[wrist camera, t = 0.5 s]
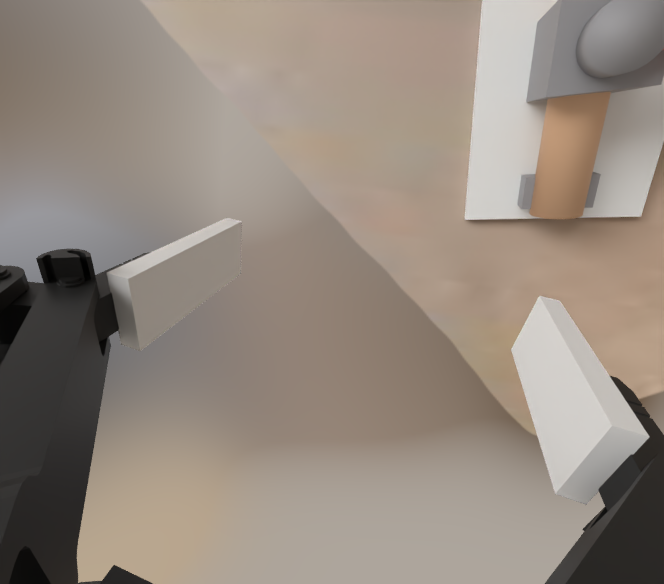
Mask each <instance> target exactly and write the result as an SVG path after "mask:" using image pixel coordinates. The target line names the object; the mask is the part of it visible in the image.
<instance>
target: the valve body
mask: <svg viewBox="0 0 664 584" xmlns="http://www.w3.org/2000/svg"><path fill="white" fill-rule="evenodd" d="M611 1H612V0H482V6H481V19H480V31H479V43H478V56H477V68H476V81H475V93H474V106H473V118H472V131H471V143H470V155H469V168H468V180H467V193H466V205H465V220H478V219H534V218H546V219H573V218H589V217H641V214H642V211H643V208H644V205H645V201H646V198H647V195H648V192H649V188H650V185H651V182H652V179H653V175H654V172H655V169H656V165H657V162H658V159H659V156H660V152H661V149H662V146H663V143H664V50H662V51H661V52H660V53H659V54H658V55H657V56H656V57H655V58H654V59H652V60H651V61H650V62H649V63H647V64H645V65H644V66H642V67H640V68H638V69H636V70H634V71H631V72H627V73H624V74H620V75H616V76H612V77H608V78H596V77H592V76H589V75H588V74H586V73H585V72H584V71H582V69H581V68H580V67H579V65H578V62H577V58H576V46H577V41H578V38H579V36H580V33H581V31H582V29H583V28H584V26H585V25H586V23H587V22H588V21H589V19H590V18H591V17H592V16H593V15H594V14H595V13H596V12H597V11H599V10H600V9H601V8H603V7H604V6H605V5H607V4H608V3H610V2H611Z"/></svg>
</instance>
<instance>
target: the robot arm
mask: <svg viewBox="0 0 664 584" xmlns="http://www.w3.org/2000/svg"><path fill="white" fill-rule="evenodd" d="M241 232H242V222H241V221H238V220H234V219H230V218H226V219H224V220H221V221H219V222H217V223H215V224H213V225H210V226H208V227H206V228H204V229H201V230H199V231H197V232H195V233H193V234H190V235H188V236H186V237H184V238H182V239H180V240H177V241H175V242H173V243H171V244H168V245H166V246H164V247H162V248H160V249H157V250H155V251H153V252H149V253H144V254H142V255H140V256H137V257H135V258H133V259H132V260H128V261H126V262H124V263H123V264H119V265H117V266H115V267H113V268H111V269H108V270H106V271H104V272H102V273H100V274H97V275H95V273H94V268H93V263H92V259H91V255H90V253H89V252H87V251H85V250H80V249H60V250H54V251H50V252H47V253H44V254H42V255H40V256H39V257H38V258H36V259H37V262H38V266H39V269H40V272H41V275H42V278H43V282H44V283H35V282H28V281H27V278H26V276H25V272H24V270H23V269H22V268H19V267H15V266H2V265H0V584H152V583H150V582H148V581H146V580H144V579H142V578H140V577H138V576H136V575H134V574H132V573H130V572H128V571H126V570H124V569H121V568H119V567H117V566H115V565H114V566H113V567H112V568H111V570H110V571H109V572H108V574H107V575H106V576H105V578H104V579H103V580H102V581H92V582H81V583H78V569H77V545H78V538H79V532H80V526H81V520H82V514H83V508H84V502H85V496H86V490H87V484H88V478H89V472H90V466H91V460H92V454H93V448H94V442H95V436H96V430H97V424H98V418H99V412H100V406H101V400H102V394H103V389H104V382H105V377H106V370H107V364H108V359H109V352H110V347H111V344H110V339H109V336H110V335H111V334H113V333H114V332H116V331H119V336H120V341H121V345H124V346H127V347H130V348H133V349H136V350H139V351H141V350H142V349H143V348H145V347H146V346H147V345H149V344H150V343H151V342H152V341H154V340H155V339H157V338H158V337H159V336H160V335H162V334H163V333H164V332H166V331H167V330H168V329H170V328H171V327H172V326H174V325H175V324H176V323H177V322H179V321H180V320H181V319H183V318H184V317H185V316H187V315H188V314H189V313H190V312H192V311H193V310H194V309H196V308H197V307H198V306H199V305H201V304H202V303H204V302H205V301H206V300H207V299H209V298H210V297H211V296H213V295H214V294H215V293H216V292H218V291H219V290H220V289H222V288H223V287H224V286H225V285H227V284H228V283H229V282H231V281H232V280H234V279H235V278H236V277H237V276H239V275H240V274H241V235H242V234H241ZM511 351H512V354H513V357H514V360H515V364H516V367H517V370H518V374H519V377H520V380H521V383H522V387H523V390H524V393H525V396H526V400H527V403H528V406H529V410H530V413H531V416H532V419H533V423H534V426H535V429H536V433H537V436H538V439H539V442H540V446H541V449H542V452H543V455H544V458H545V462H546V465H547V469H548V472H549V475H550V478H551V481H552V485H553V488H554V492H555V494H557V495H560V496H563V497H565V498H568V499H571V500H574V501H577V502H580V503H583V504H587V503H588V502H589V501H590V500H591V499H592V498H593V497H594V496H595V494H597V492H598V491H599V492H600V495H601V497H602V499H603V502H604V504H605V507H604V508H603V509H602V510H601V511H600V512H599V514H597V515H596V516H595V517H594V518H593V520H591V521H590V523H588V524H587V525H586V527H585V528H583V530H584V531H585V532H584V533H583V534H582V535H581V537H580V538H579V539H578V541H577V542H576V543H575V545H574V546H573V547H572V549H571V550H570V551H569V552H568V554H567V555H566V557H565V558H564V559H563V560H562V562H561V563H560V564H559V566H558V567H557V568H556V569H555V571H554V572H553V573H552V575H551V576H550V577H549V579H548V580H547V582H546V583H545V584H664V435H663V433H662V432H661V431H660V429H659V428H658V426H657V425H656V424H655V422H654V421H653V419H651V418H650V415H649V414H648V412H647V411H646V409H645V408H644V407H642V404H641V402H640V401H639V399H638V398H637V397H636V395H635V394H634V392H633V391H632V390H631V389H629V388H628V387H627V386H626V385H625V384H624V383H623V382H621V381H620V380H619V379H618V378H616V377H612V376H609V374H608V373H607V371H606V370H605V368H604V367H603V365H602V364H601V362H600V361H599V359H598V358H597V356H596V355H595V353H594V352H593V350H592V349H591V347H590V346H589V344H588V343H587V341H586V339H585V338H584V336H583V335H582V333H581V332H580V330H579V329H578V327H577V326H576V324H575V323H574V321H573V320H572V318H571V317H570V315H569V314H568V312H567V311H566V309H565V308H564V306H563V305H562V303H561V302H560V301H559V300H555V299H551V298H547V297H543V296H539V298H538V299H537V301H536V303H535V305H534V307H533V309H532V311H531V313H530V315H529V317H528V318H527V320H526V322H525V324H524V326H523V328H522V330H521V332H520V334H519V336H518V337H517V339H516V341H515V343H514V345H513V347H512V349H511Z"/></svg>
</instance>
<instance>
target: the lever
mask: <svg viewBox="0 0 664 584" xmlns="http://www.w3.org/2000/svg"><path fill="white" fill-rule="evenodd" d="M662 50H664V0H612V1H611V2H610V3H608V4H607V5H605V6H604V7H603V8H601V9H600V10H599V11H597V12H596V13H595V14H594V15H593V16H592V17H591V18H590V19H589V21H588V22H587V23H586V25H585V26H584V28H583V29H582V31H581V33H580V36H579V38H578V41H577V46H576V58H577V62H578V65H579V67H580V68H581V69H582V71H584V72H585V73H586V74H588V75H589V76H592V77H596V78H608V77H612V76H616V75H620V74H624V73H627V72H631V71H634V70H636V69H638V68H640V67H642V66H644V65H645V64H647V63H649V62H650V61H651V60H652V59H654V58H655V57H656V56H657V55H658V54H659V53H660V52H661V51H662Z"/></svg>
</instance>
